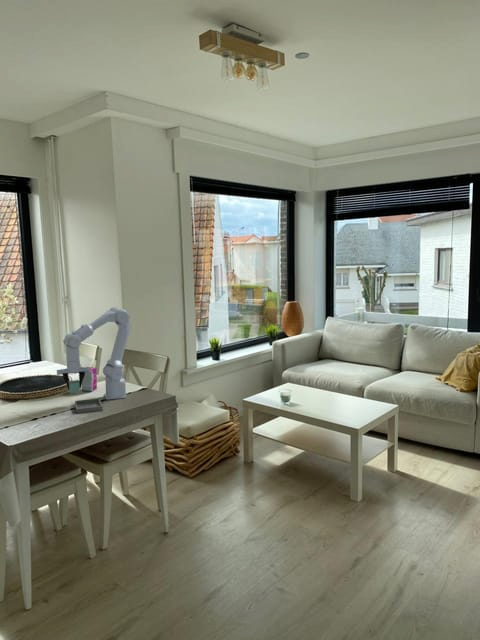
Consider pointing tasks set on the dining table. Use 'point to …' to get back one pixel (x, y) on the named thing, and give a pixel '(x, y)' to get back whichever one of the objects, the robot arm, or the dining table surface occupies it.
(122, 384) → the robot arm
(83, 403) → the tray
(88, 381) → the supplement box
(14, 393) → the dining table surface
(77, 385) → the teal block
